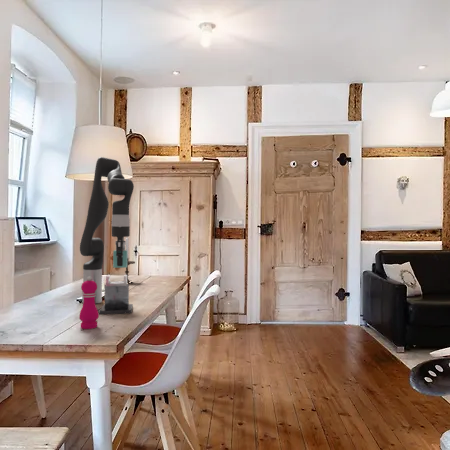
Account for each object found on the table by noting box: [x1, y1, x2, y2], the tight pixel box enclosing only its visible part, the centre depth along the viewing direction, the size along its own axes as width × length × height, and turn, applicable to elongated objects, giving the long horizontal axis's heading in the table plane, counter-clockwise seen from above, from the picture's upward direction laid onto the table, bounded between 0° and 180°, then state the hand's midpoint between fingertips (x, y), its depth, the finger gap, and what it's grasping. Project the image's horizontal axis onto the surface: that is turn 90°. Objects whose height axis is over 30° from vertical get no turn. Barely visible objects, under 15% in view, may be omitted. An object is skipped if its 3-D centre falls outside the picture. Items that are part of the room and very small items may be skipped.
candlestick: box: [124, 237, 136, 283], centre depth 284 cm, size 11×11×35 cm
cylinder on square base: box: [98, 274, 134, 315], centre depth 195 cm, size 14×14×16 cm
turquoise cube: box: [112, 249, 127, 269], centre depth 177 cm, size 6×5×7 cm
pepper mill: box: [79, 276, 100, 330], centre depth 164 cm, size 7×7×20 cm
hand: (120, 265), depth 177 cm, fingers closed on turquoise cube, 5 cm apart
